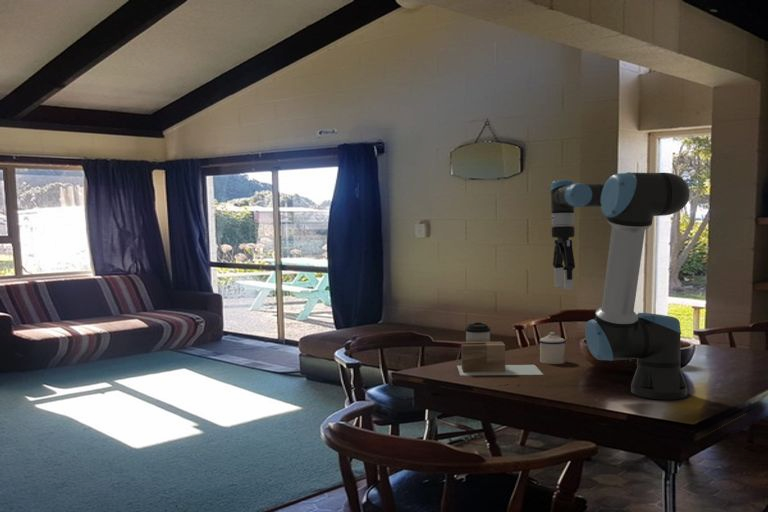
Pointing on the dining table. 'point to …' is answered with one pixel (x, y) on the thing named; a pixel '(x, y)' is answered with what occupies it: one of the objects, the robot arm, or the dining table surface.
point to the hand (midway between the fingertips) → (563, 288)
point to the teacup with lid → (552, 349)
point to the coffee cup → (477, 333)
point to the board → (508, 371)
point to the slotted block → (483, 356)
